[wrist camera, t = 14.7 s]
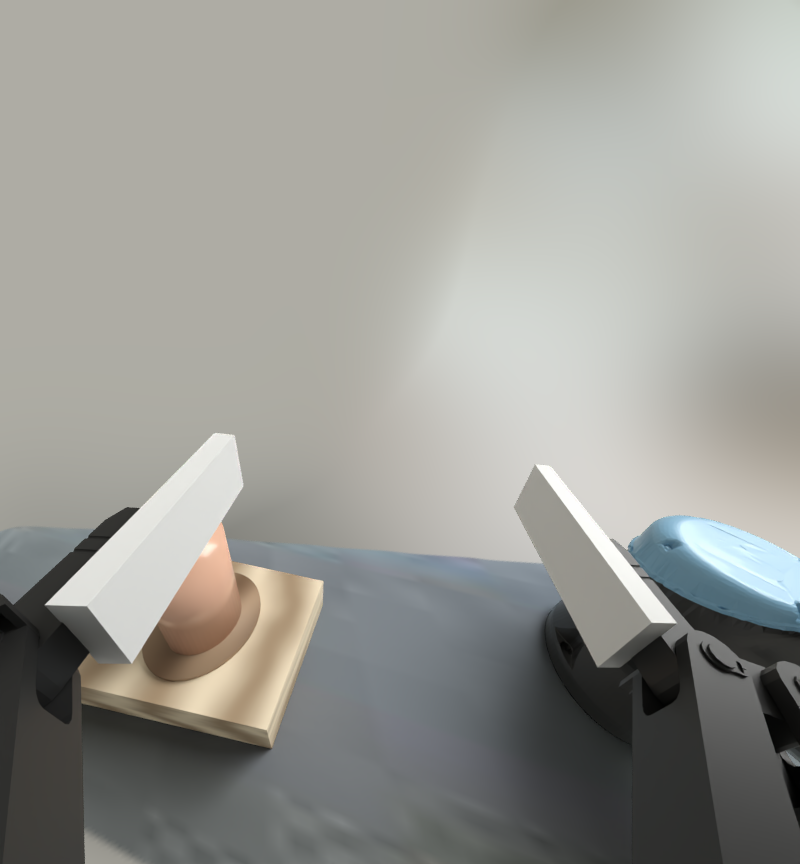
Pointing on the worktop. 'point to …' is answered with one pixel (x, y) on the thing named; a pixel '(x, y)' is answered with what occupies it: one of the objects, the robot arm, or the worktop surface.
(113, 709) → the plinth
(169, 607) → the slanted peach cylinder
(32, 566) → the worktop surface
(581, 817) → the worktop surface
